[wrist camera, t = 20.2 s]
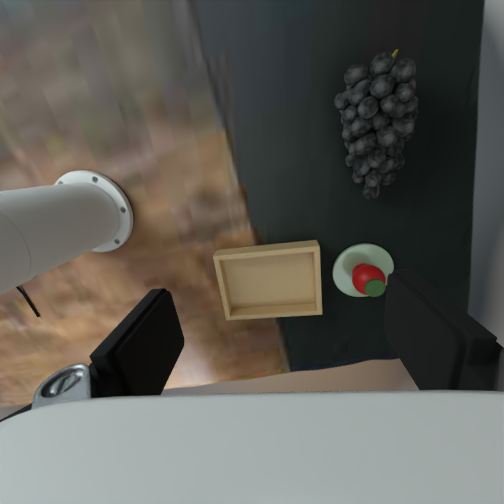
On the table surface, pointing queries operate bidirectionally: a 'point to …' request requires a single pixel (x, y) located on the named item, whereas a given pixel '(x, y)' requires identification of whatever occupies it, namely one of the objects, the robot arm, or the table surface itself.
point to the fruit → (378, 118)
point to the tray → (270, 280)
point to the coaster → (357, 256)
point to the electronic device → (28, 301)
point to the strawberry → (368, 279)
